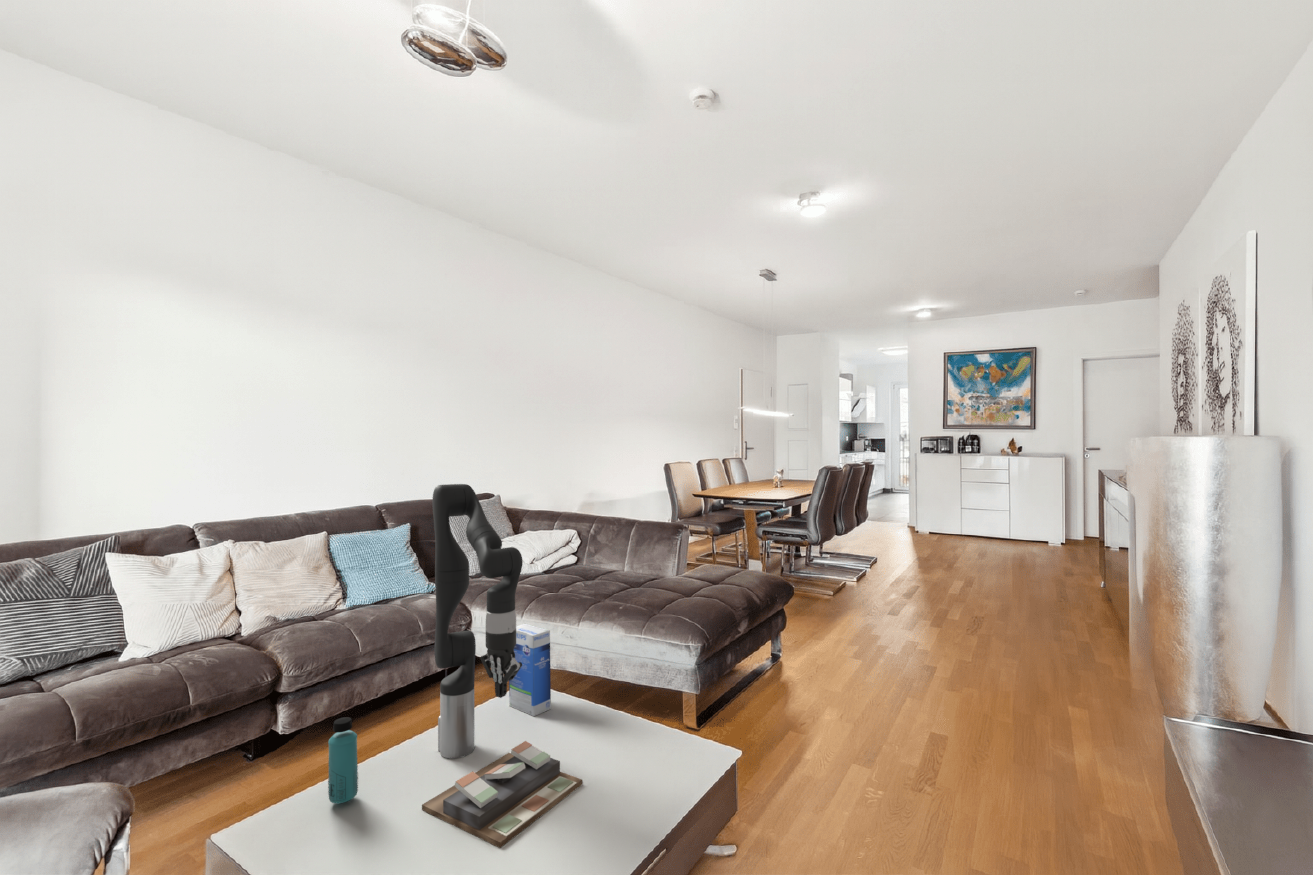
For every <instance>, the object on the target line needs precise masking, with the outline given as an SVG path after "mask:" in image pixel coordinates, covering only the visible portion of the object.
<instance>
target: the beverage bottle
mask: <svg viewBox="0 0 1313 875" xmlns="http://www.w3.org/2000/svg"><path fill="white" fill-rule="evenodd" d="M332 726H333V727H332V731H333V732H334V733H333V734H332V736H331V737H330V738H329V739H328V756H327V758H328V772H327V773H328V776H327V777H328V781H327V785H328V786H327V794H328V800H329V802H330V803H332V804H343V803H347V802H349V801H351V800H353V799H354V798H355V797H356V796H357V793H358V791H359V775H358V774H359V771H358V769H359V767H358V765H359V762H358V734H357V733H356V732H355V731H353V730H351V729H352V728H353V721H352V718H351V717H347V716H346V717H340V718H337V719H335V720H334V721H333V725H332Z"/></svg>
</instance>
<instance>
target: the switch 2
mask: <svg viewBox="0 0 1313 875" xmlns="http://www.w3.org/2000/svg"><path fill="white" fill-rule="evenodd" d="M523 769H525V764H524V762H522V763H516V764H507V765H506V764H500V765H498V766H496V767H495V768H493V769H492V770H490V771H488V772H487V773H485V774H484V775H485V780H487V779H500V778H511V777H512V776H514V775H516V774H517V773H519V772H520V771H522V770H523Z"/></svg>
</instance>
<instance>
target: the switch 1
mask: <svg viewBox="0 0 1313 875" xmlns="http://www.w3.org/2000/svg"><path fill="white" fill-rule="evenodd" d="M454 785H455V787H456V788H457V789H458V790H460V791H461V792H462V793H463V794H464V795H465V796H467V797H468V798H469V799H470V800H471V801H472V802H474V803H475V804H476V805H477V806H478V807H480V808H482V807H483V806H485V805H486V804H488V803H489V802H491V801H492V800H494V799H495V798H497V795H498V791H496V790H495V789H494V788H493V787H492V786H489V785H488V784H487V783H486V782H485V781H483V780H482V779H481V778H480V777H479V776H478V775H477V774H476V773H475V771H473V770H472V771H471V772H469V773H467V774H465V775H463V776H462V777H461V778H459V779H458V780H456V781H455V783H454Z"/></svg>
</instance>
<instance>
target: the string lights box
mask: <svg viewBox="0 0 1313 875" xmlns="http://www.w3.org/2000/svg"><path fill="white" fill-rule="evenodd" d="M514 653H515V659H516V661H517V662H518V663H519V662H521V663H522V667H521V668H520V670H519V671H518V673H517V674H516V676H515V677H514V678H513V679H512V680H510V681H508V686H509V687H508V688H509V690H508V692H509V696H508V698H509V707H511V708H513V709H516V710H518V711H520V712H523V713H526V714H528V715H530V716H532V717H535V716H538V715H541V714H542V713H544V712H547V711H549V710H551V709H552V700H551V698H552V693H551V692H552V690H551V688H552V686H551V679H552V678H551V630H550V629H548V628H547V629H546V628H542V627H539V626H536V625H531V624H528V623H522V624H519V625H516V645H515V647H514Z"/></svg>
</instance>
